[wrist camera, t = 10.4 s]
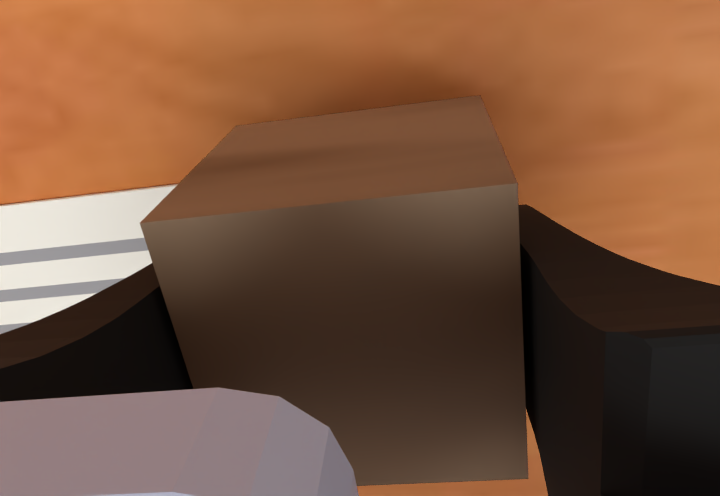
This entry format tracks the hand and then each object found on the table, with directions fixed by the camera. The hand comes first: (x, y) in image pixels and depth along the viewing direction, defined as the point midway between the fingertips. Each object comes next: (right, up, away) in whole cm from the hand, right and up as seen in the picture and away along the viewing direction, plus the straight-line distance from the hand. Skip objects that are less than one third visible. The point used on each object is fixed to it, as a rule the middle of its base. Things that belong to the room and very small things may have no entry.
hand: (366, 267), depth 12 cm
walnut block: (0, +1, +1) cm, 2 cm away
